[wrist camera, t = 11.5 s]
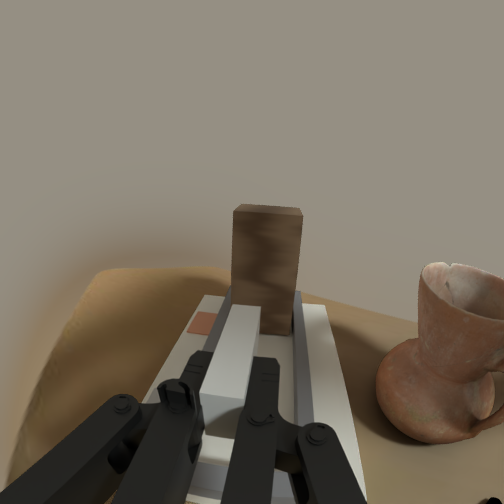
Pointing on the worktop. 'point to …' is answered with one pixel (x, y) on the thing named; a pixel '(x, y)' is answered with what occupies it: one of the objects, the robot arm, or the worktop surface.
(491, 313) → the ceramic jug
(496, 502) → the pen
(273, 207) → the slider
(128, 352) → the worktop surface
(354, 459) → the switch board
